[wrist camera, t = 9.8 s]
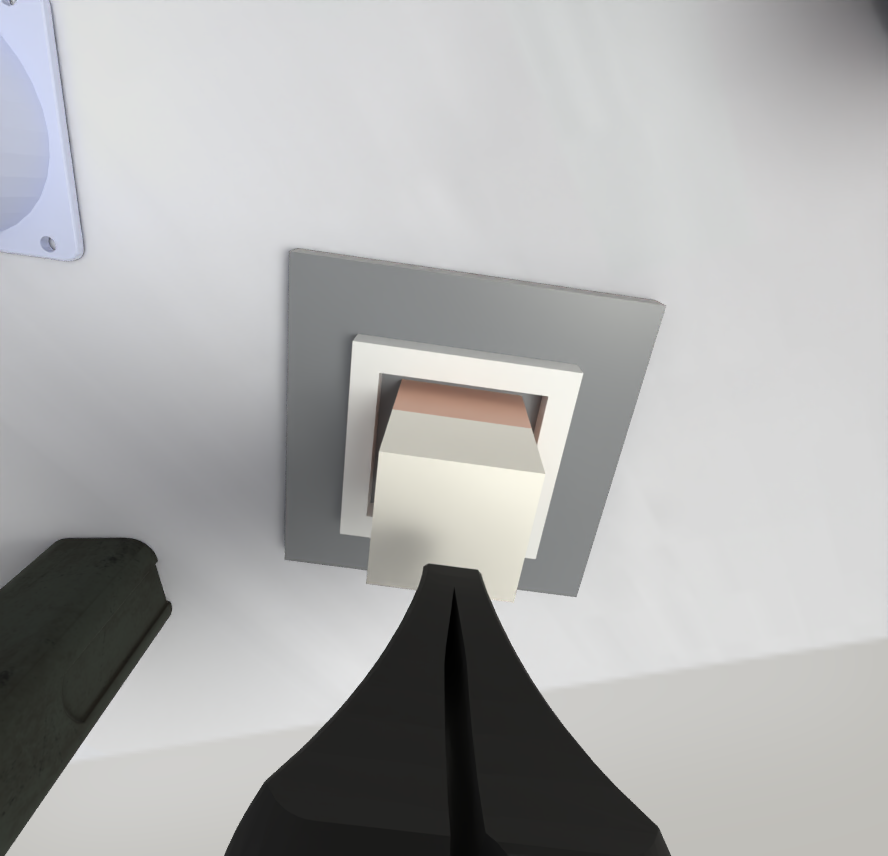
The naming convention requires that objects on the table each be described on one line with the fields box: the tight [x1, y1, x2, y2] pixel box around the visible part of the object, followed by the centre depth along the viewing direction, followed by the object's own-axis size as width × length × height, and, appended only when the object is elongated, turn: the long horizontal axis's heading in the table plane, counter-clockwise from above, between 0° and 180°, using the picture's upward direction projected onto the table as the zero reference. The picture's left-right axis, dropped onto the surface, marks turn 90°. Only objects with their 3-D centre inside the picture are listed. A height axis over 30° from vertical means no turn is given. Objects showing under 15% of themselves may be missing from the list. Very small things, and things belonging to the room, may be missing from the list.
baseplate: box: [285, 248, 666, 597], centre depth 21 cm, size 13×13×2 cm
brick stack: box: [366, 379, 545, 603], centre depth 18 cm, size 4×4×6 cm
